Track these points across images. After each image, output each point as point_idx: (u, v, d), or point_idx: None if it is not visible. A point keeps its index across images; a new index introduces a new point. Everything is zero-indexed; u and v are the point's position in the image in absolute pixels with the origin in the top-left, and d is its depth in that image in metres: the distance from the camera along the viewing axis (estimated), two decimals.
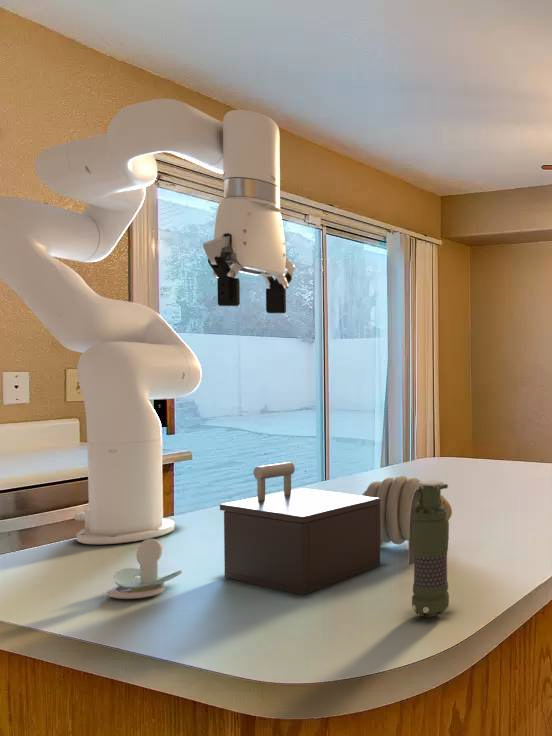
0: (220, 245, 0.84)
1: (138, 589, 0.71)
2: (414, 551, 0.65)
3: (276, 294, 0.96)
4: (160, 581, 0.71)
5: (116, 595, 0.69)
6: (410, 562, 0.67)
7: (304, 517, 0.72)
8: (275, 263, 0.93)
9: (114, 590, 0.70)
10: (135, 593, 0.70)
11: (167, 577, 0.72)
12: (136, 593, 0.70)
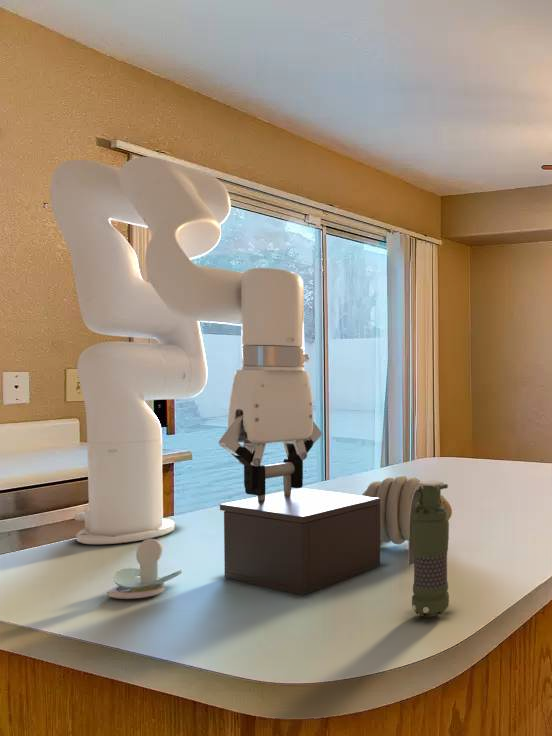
0: (236, 435, 0.77)
1: (138, 589, 0.71)
2: (414, 551, 0.65)
3: None
4: (160, 581, 0.71)
5: (116, 595, 0.69)
6: (410, 562, 0.67)
7: (304, 517, 0.72)
8: (298, 429, 0.83)
9: (114, 590, 0.70)
10: (135, 593, 0.70)
11: (167, 577, 0.72)
12: (136, 593, 0.70)
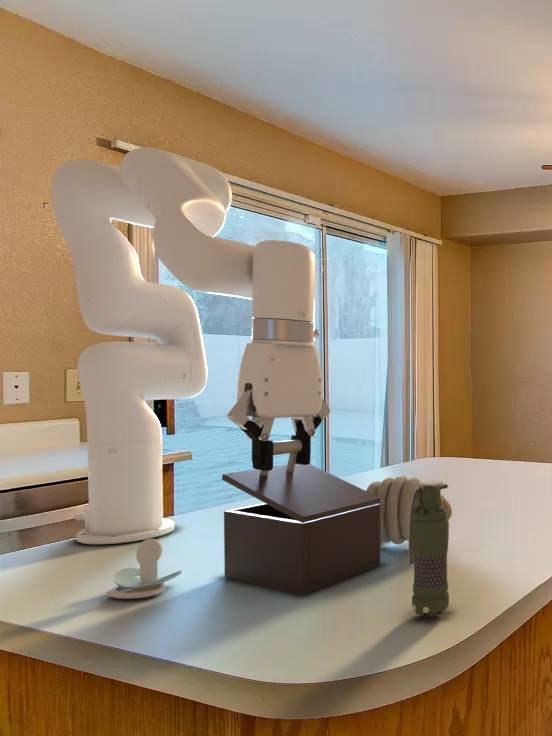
0: (245, 409, 0.76)
1: (138, 589, 0.71)
2: (414, 551, 0.65)
3: None
4: (160, 581, 0.71)
5: (116, 595, 0.69)
6: (410, 562, 0.67)
7: (304, 517, 0.72)
8: (307, 405, 0.82)
9: (114, 590, 0.70)
10: (135, 593, 0.70)
11: (167, 577, 0.72)
12: (136, 593, 0.70)
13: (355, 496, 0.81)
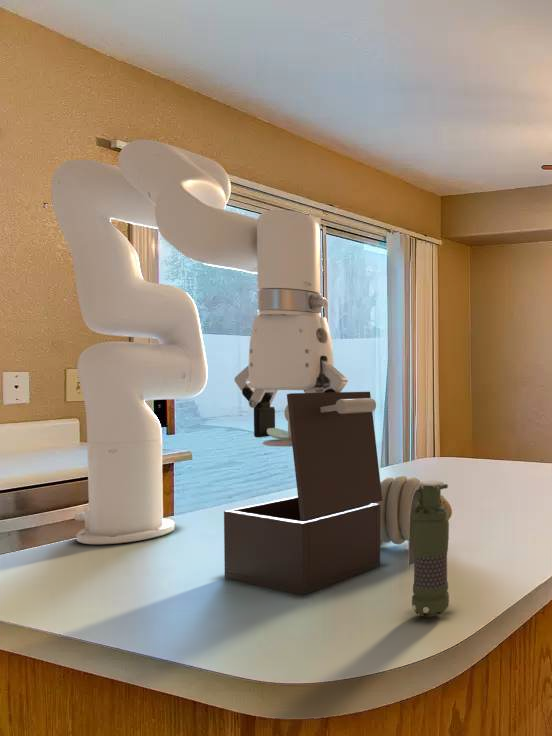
0: (245, 375, 0.81)
1: (289, 442, 0.80)
2: (414, 551, 0.65)
3: None
4: None
5: (273, 443, 0.77)
6: (410, 562, 0.67)
7: (306, 519, 0.71)
8: (293, 378, 0.77)
9: (269, 441, 0.79)
10: (290, 442, 0.78)
11: None
12: (290, 442, 0.78)
13: (366, 489, 0.80)
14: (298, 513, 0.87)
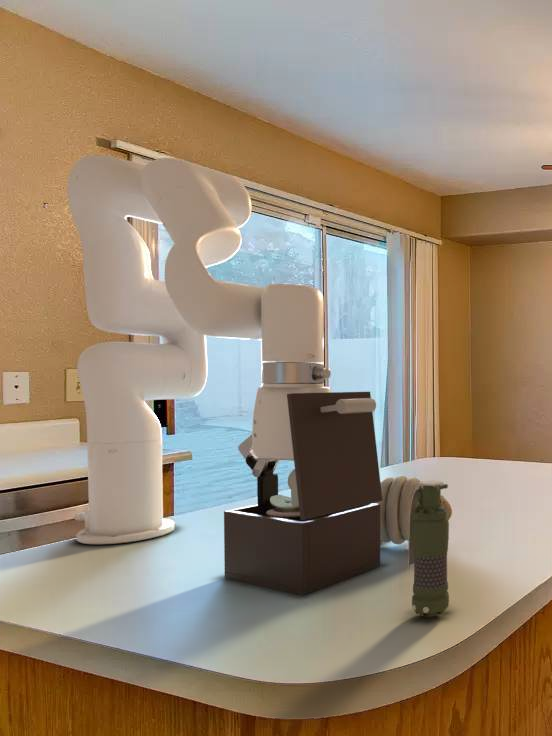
0: (248, 444, 0.81)
1: (292, 511, 0.80)
2: (414, 551, 0.65)
3: None
4: None
5: (277, 514, 0.78)
6: (410, 562, 0.67)
7: (306, 519, 0.71)
8: None
9: (272, 511, 0.79)
10: (293, 513, 0.78)
11: None
12: (294, 513, 0.78)
13: (366, 489, 0.80)
14: None
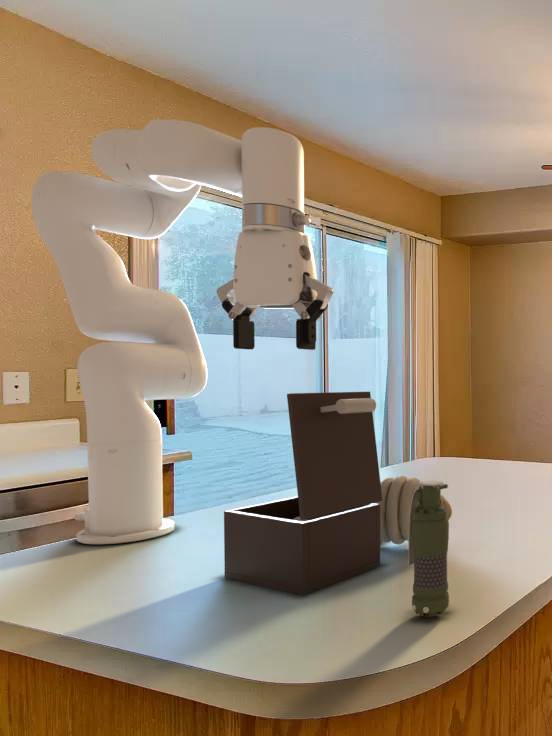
0: (227, 288, 0.83)
1: None
2: (414, 551, 0.65)
3: None
4: None
5: None
6: (410, 562, 0.67)
7: (306, 519, 0.71)
8: (276, 292, 0.79)
9: None
10: None
11: None
12: None
13: (366, 489, 0.80)
14: (298, 513, 0.87)
